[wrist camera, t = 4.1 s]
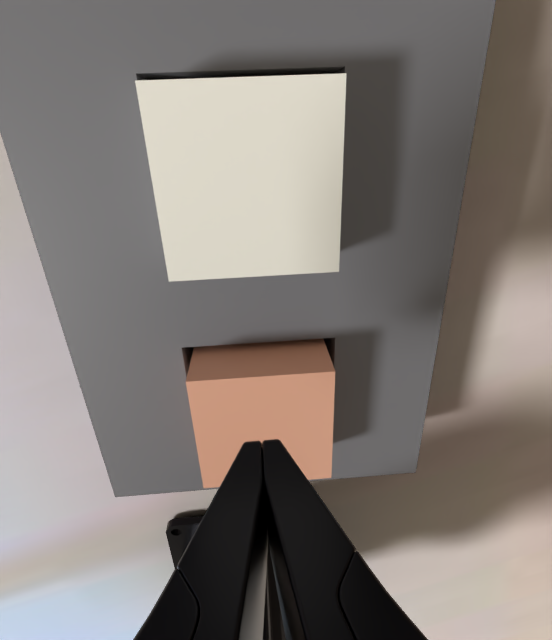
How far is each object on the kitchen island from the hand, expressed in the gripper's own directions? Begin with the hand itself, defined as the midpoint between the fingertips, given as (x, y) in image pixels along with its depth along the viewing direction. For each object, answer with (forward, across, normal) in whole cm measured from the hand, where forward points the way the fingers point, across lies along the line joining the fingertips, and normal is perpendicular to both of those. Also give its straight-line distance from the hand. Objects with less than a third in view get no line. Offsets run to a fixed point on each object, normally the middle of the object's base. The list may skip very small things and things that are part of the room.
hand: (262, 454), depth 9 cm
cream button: (+5, 0, -6) cm, 8 cm away
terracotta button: (+5, 0, +2) cm, 5 cm away
